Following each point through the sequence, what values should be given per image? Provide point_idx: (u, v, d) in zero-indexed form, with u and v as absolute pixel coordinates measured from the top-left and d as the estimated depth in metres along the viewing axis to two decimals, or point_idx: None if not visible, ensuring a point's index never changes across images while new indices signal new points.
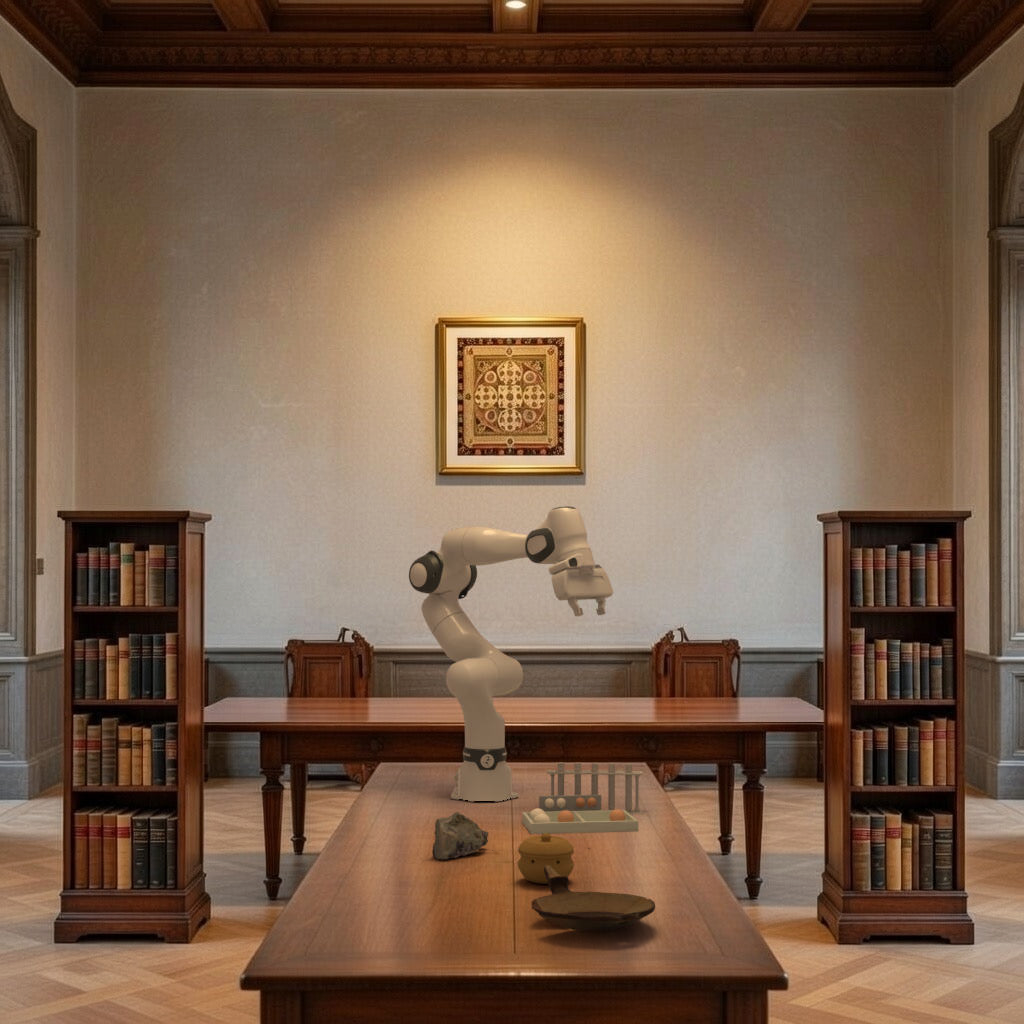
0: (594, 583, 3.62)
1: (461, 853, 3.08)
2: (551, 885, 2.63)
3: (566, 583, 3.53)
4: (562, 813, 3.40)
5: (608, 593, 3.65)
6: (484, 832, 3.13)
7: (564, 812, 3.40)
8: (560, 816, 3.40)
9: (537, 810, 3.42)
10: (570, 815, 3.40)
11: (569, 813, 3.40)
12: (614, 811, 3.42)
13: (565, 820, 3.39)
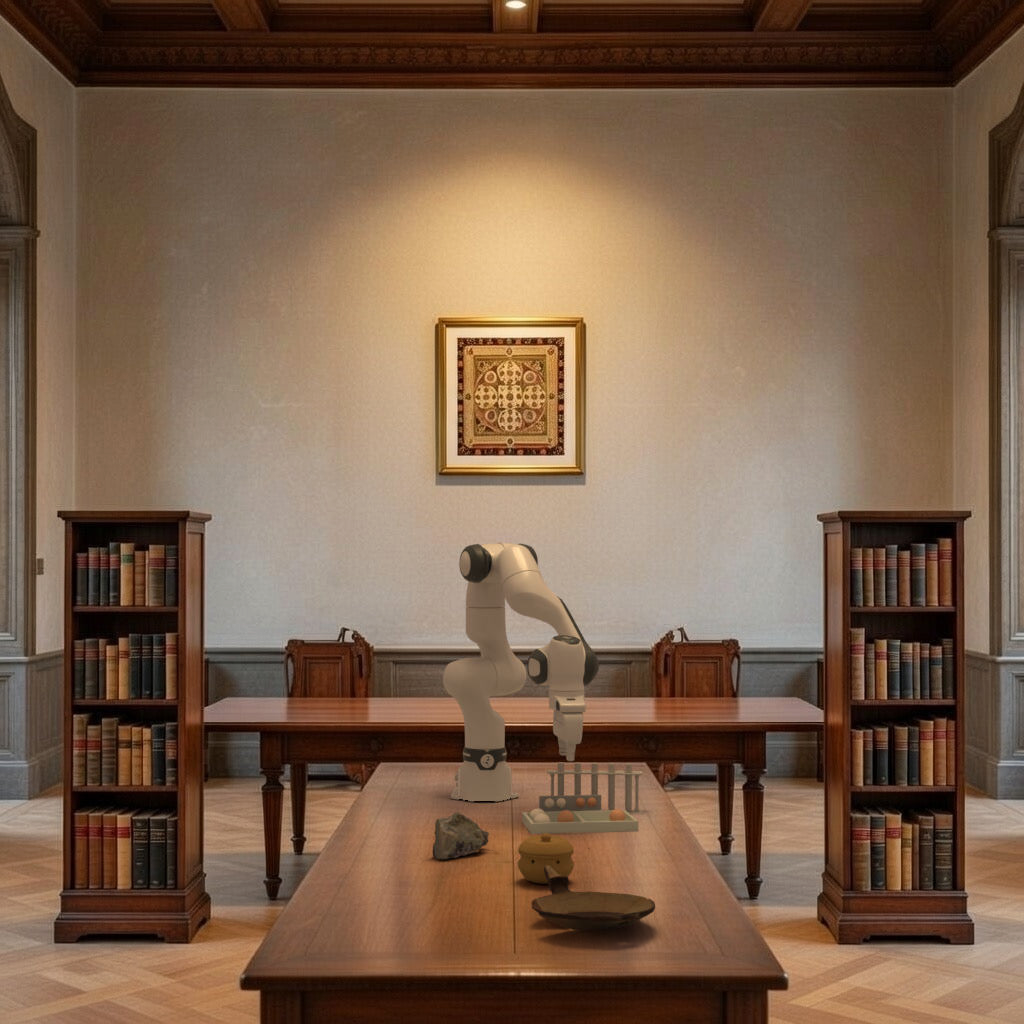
0: None
1: (461, 853, 3.08)
2: (551, 885, 2.63)
3: None
4: (562, 813, 3.40)
5: None
6: (484, 832, 3.13)
7: (564, 812, 3.40)
8: (560, 816, 3.40)
9: (537, 810, 3.42)
10: (570, 815, 3.40)
11: (569, 813, 3.40)
12: (614, 811, 3.42)
13: (565, 820, 3.39)
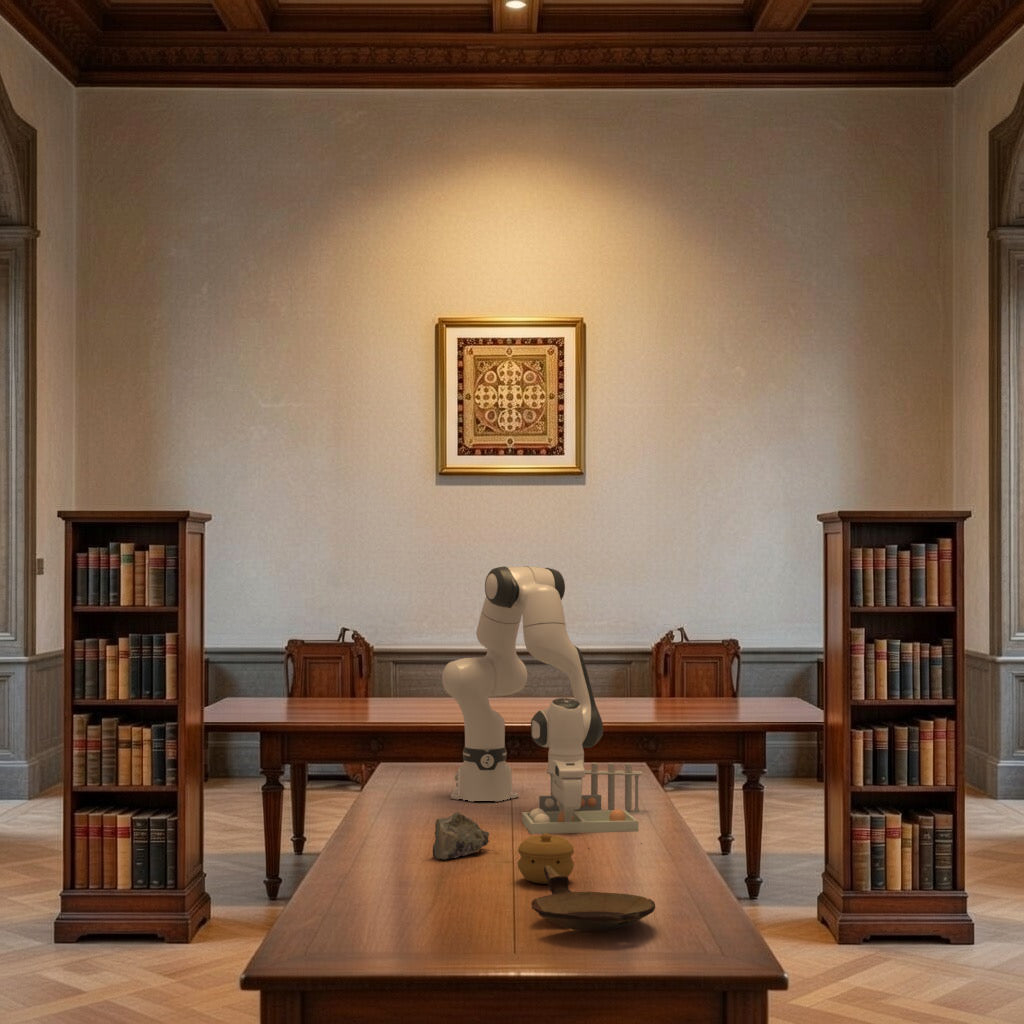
0: None
1: (461, 854, 3.08)
2: (551, 885, 2.63)
3: None
4: (562, 813, 3.40)
5: None
6: (485, 832, 3.13)
7: None
8: (560, 816, 3.40)
9: (537, 810, 3.42)
10: None
11: None
12: (614, 811, 3.42)
13: None
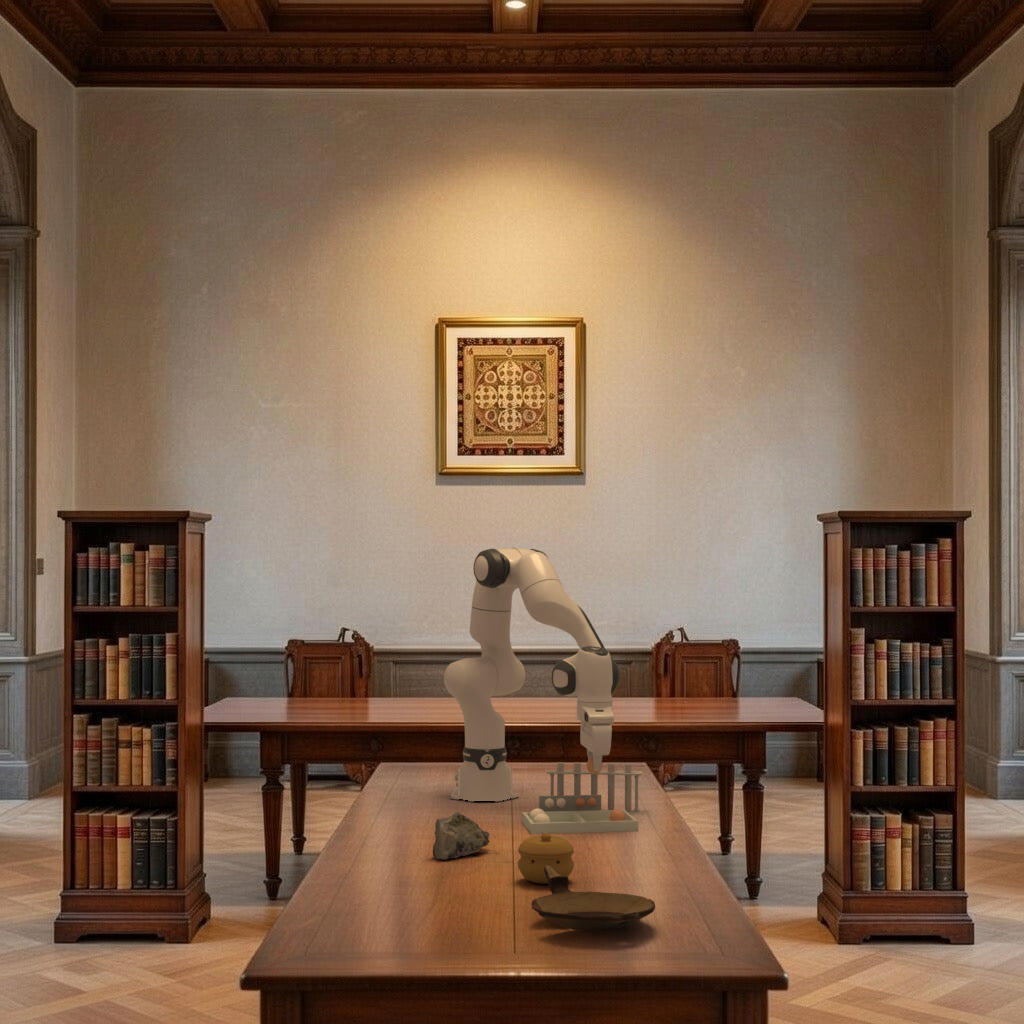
0: None
1: (461, 854, 3.08)
2: (551, 885, 2.63)
3: None
4: (591, 760, 3.41)
5: None
6: (485, 832, 3.13)
7: None
8: (589, 763, 3.41)
9: (537, 810, 3.42)
10: None
11: None
12: (614, 811, 3.42)
13: None
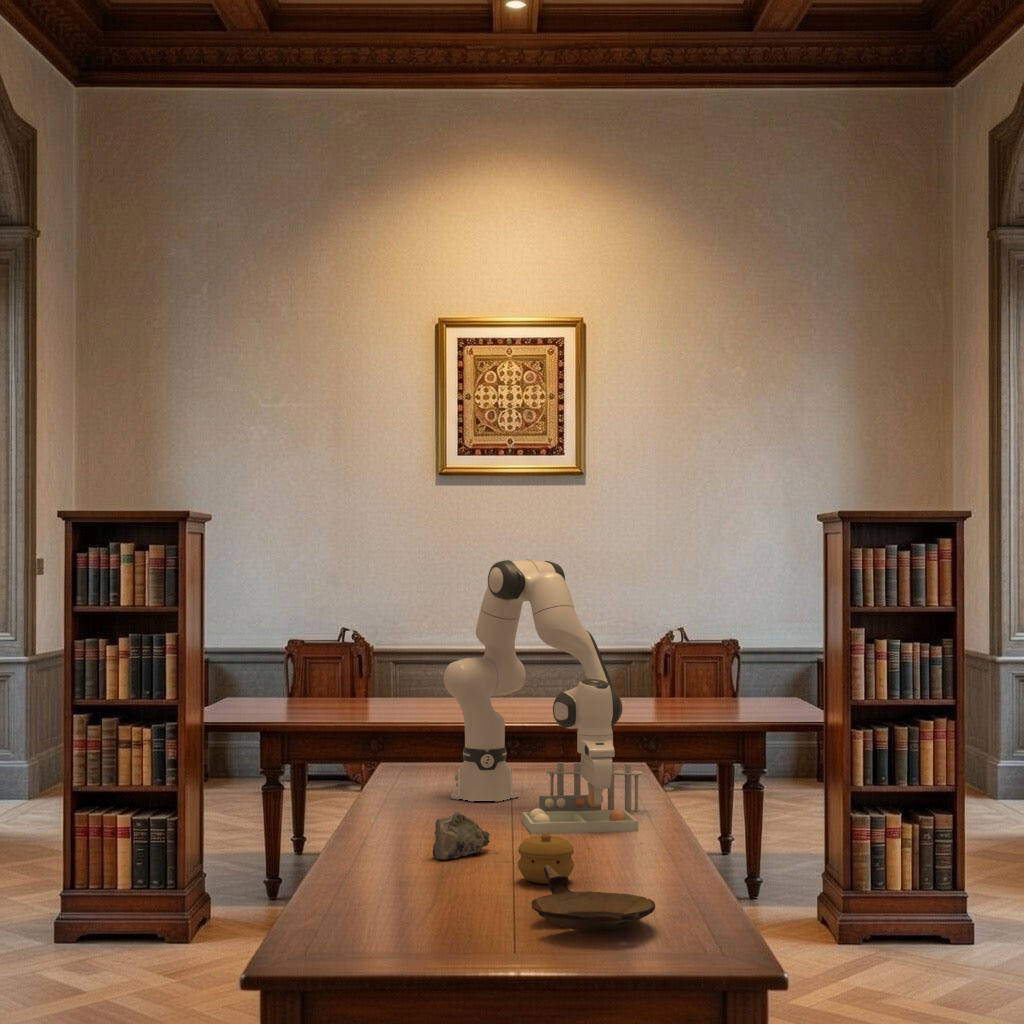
0: None
1: (461, 854, 3.08)
2: (551, 885, 2.63)
3: None
4: (591, 793, 3.41)
5: None
6: (485, 832, 3.12)
7: (593, 792, 3.41)
8: (589, 796, 3.41)
9: (537, 810, 3.42)
10: None
11: None
12: (614, 811, 3.42)
13: None
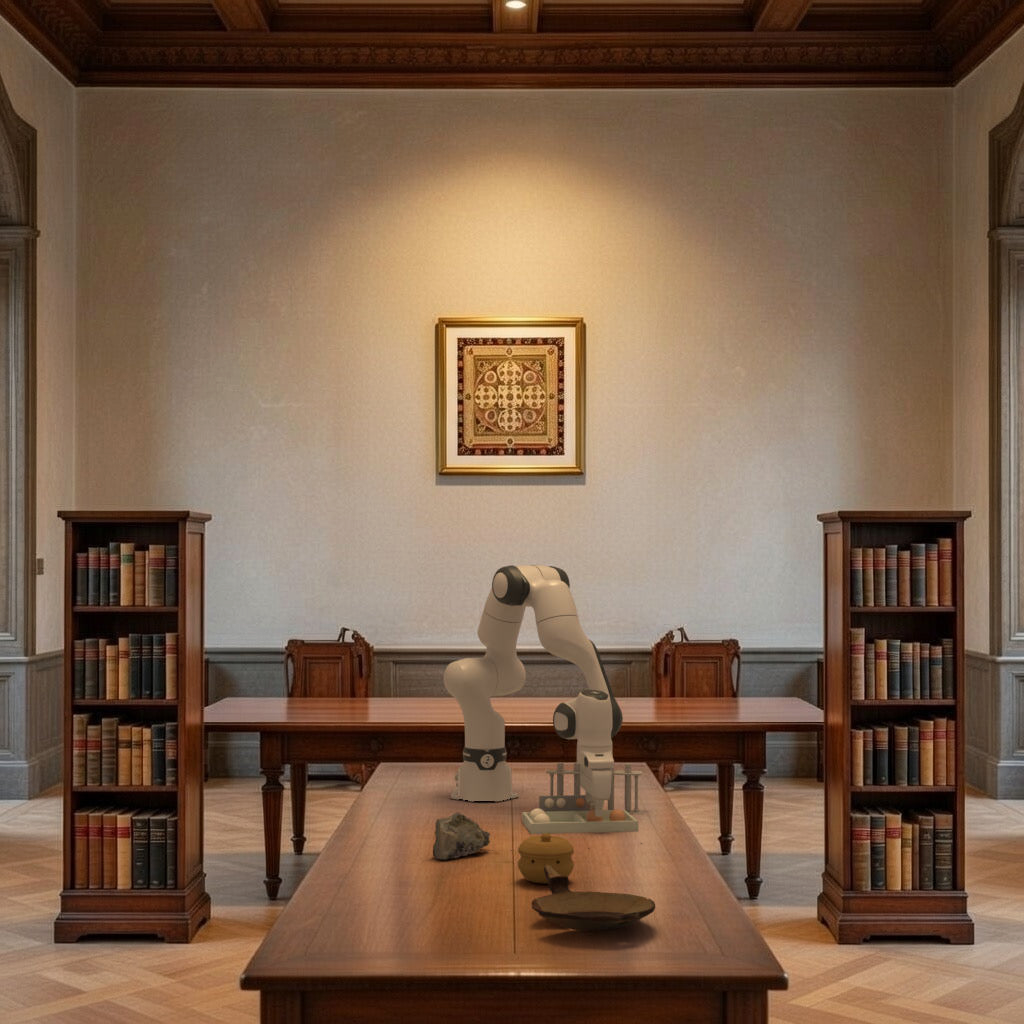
0: None
1: (461, 854, 3.08)
2: (551, 885, 2.63)
3: None
4: (591, 813, 3.41)
5: None
6: (485, 833, 3.12)
7: (593, 812, 3.41)
8: (589, 816, 3.41)
9: (537, 810, 3.42)
10: None
11: None
12: (614, 811, 3.42)
13: (594, 820, 3.40)
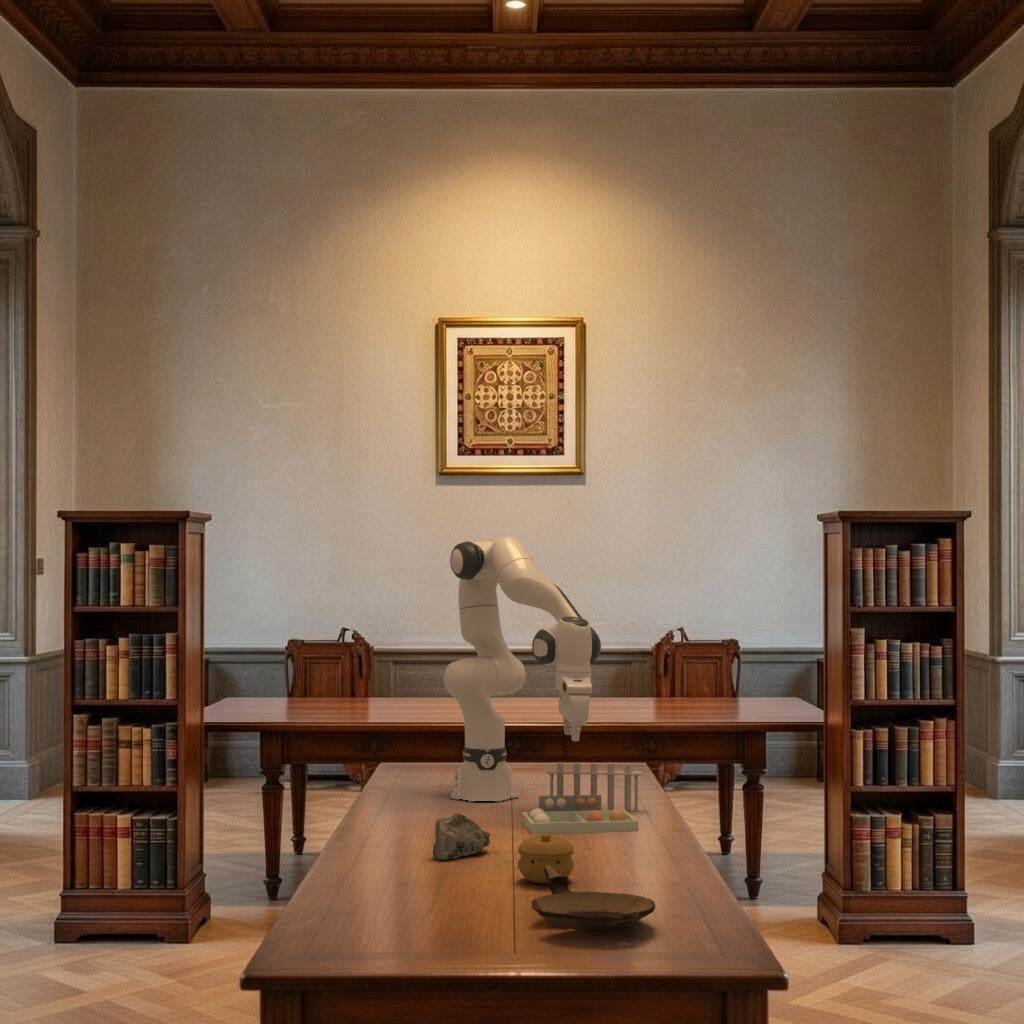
0: None
1: (461, 854, 3.08)
2: (551, 885, 2.63)
3: None
4: (592, 815, 3.40)
5: None
6: (486, 833, 3.12)
7: (594, 815, 3.40)
8: (589, 818, 3.40)
9: (537, 810, 3.42)
10: (599, 818, 3.40)
11: (599, 816, 3.40)
12: (614, 811, 3.42)
13: None
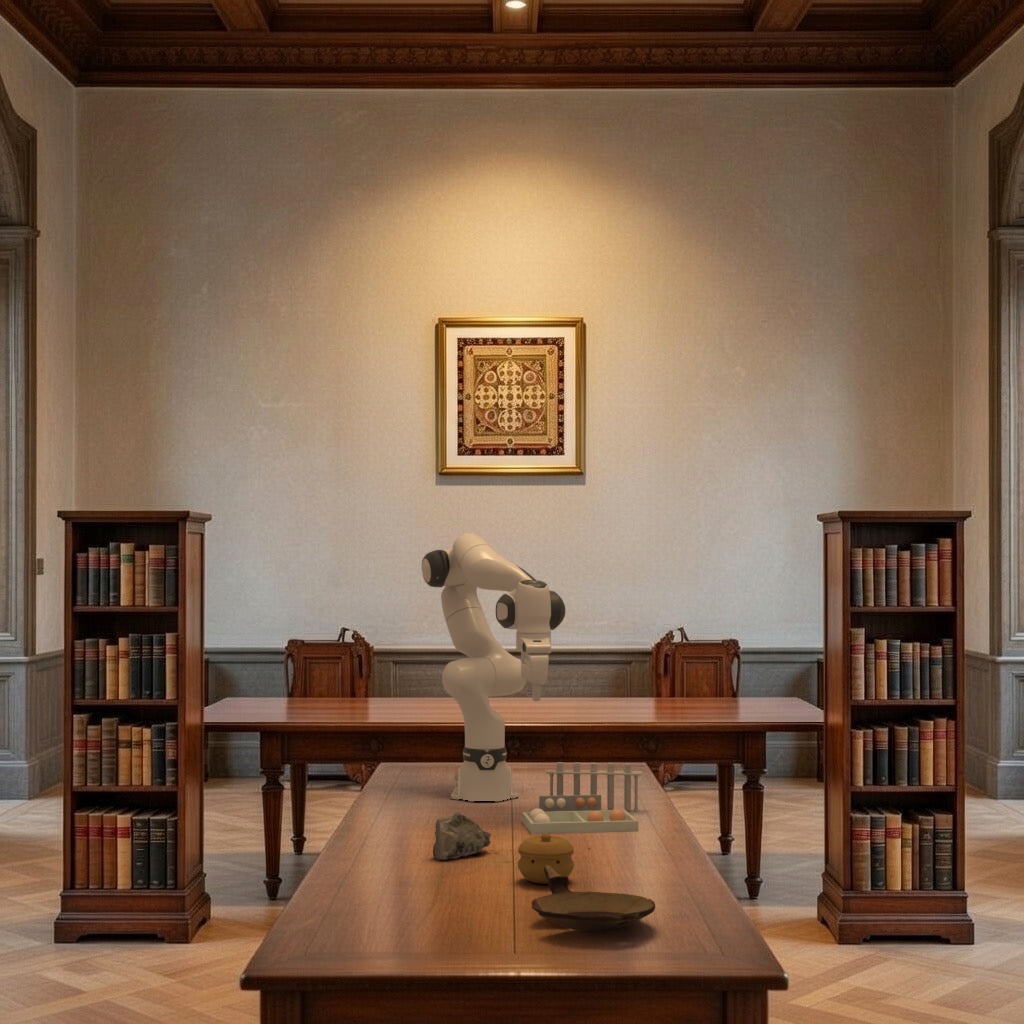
0: None
1: (461, 854, 3.08)
2: (552, 885, 2.63)
3: (547, 669, 3.41)
4: (592, 818, 3.39)
5: None
6: (486, 833, 3.12)
7: (594, 818, 3.39)
8: (590, 821, 3.39)
9: (537, 810, 3.42)
10: None
11: (599, 819, 3.39)
12: (614, 811, 3.42)
13: None
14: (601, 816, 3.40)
